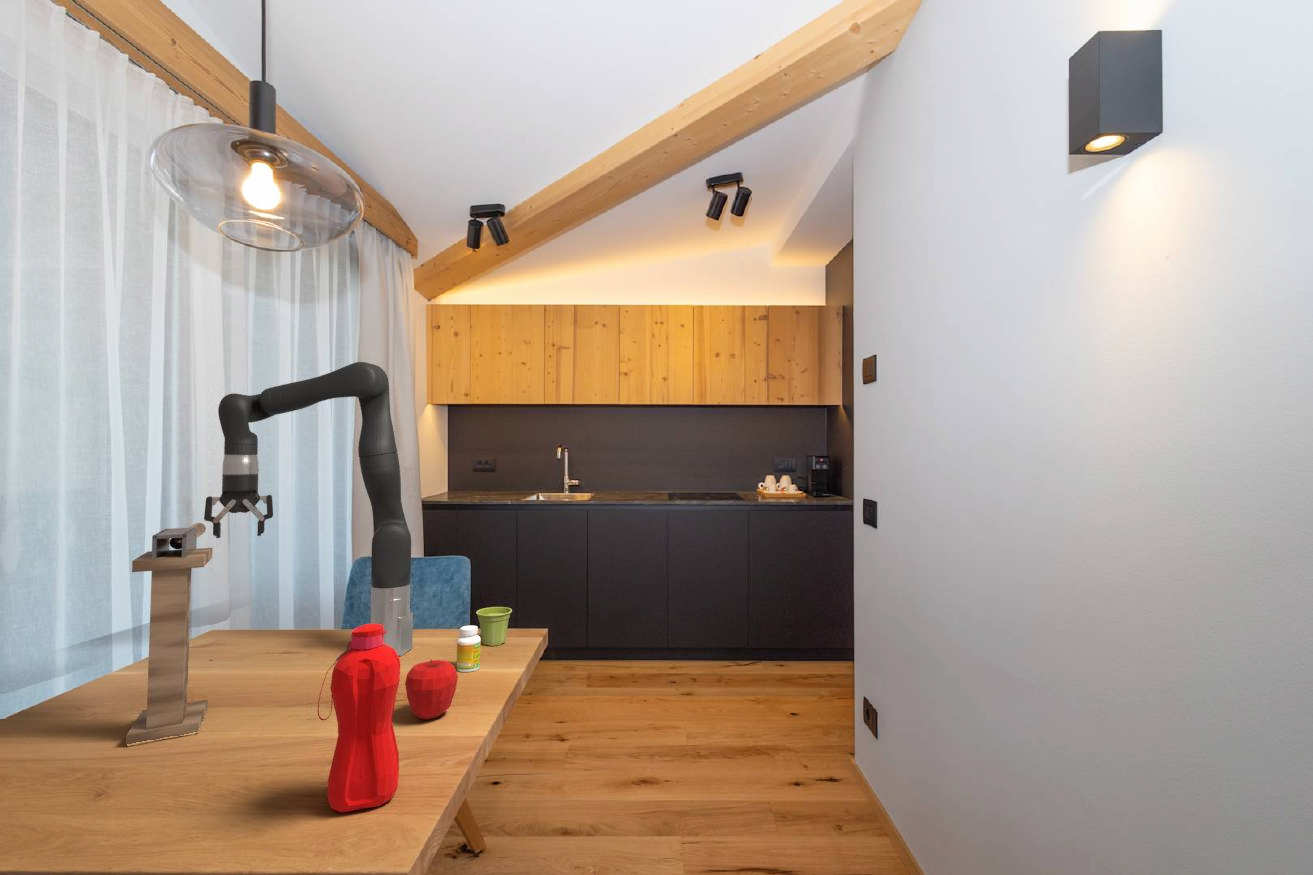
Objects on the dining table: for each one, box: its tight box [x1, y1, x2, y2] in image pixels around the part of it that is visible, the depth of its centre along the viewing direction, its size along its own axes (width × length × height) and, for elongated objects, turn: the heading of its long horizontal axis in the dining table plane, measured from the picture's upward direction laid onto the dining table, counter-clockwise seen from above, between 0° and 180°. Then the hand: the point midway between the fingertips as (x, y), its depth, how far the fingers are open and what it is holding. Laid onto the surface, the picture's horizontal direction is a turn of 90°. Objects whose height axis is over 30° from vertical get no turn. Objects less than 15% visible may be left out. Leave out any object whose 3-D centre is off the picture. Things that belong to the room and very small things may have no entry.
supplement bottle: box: [456, 625, 482, 673], centre depth 142 cm, size 5×5×10 cm
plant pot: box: [475, 606, 513, 647], centre depth 162 cm, size 9×9×9 cm
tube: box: [169, 522, 207, 550], centre depth 125 cm, size 24×3×3 cm, turn 31°
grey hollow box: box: [151, 527, 198, 559], centre depth 112 cm, size 12×5×4 cm, turn 30°
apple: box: [404, 659, 459, 720], centre depth 116 cm, size 10×10×11 cm
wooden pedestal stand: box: [125, 547, 213, 746], centre depth 111 cm, size 12×10×32 cm
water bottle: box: [317, 623, 401, 814], centre depth 88 cm, size 9×11×25 cm
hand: (239, 536), depth 151 cm, fingers open, 8 cm apart
